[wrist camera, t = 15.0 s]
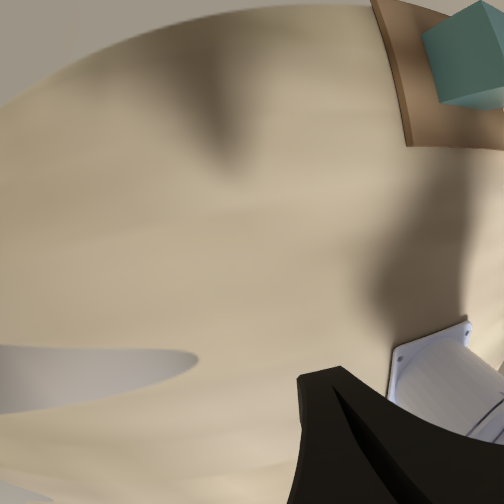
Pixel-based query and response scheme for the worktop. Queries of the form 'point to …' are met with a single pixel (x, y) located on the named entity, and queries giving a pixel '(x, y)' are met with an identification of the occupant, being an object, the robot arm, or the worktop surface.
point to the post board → (429, 85)
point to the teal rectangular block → (469, 57)
